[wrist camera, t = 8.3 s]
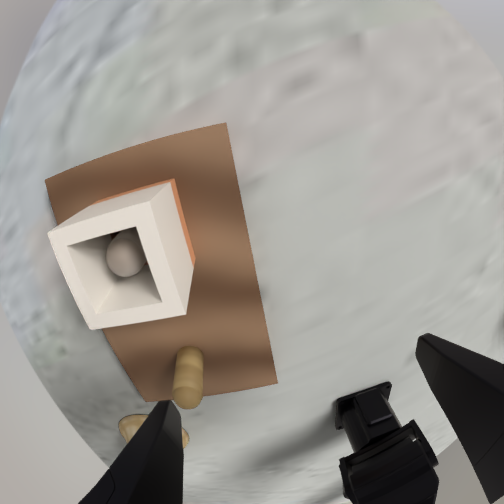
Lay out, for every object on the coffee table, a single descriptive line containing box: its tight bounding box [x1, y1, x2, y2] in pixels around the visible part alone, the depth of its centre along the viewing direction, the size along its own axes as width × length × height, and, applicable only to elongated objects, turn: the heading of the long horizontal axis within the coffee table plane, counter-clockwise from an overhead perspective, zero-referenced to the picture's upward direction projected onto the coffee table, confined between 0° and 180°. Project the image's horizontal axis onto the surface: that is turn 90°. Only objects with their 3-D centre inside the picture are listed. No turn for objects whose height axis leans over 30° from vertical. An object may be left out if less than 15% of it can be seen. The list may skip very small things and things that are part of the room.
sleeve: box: [47, 179, 195, 330], centre depth 14 cm, size 5×5×6 cm
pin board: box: [45, 123, 278, 409], centre depth 17 cm, size 20×12×6 cm, turn 10°
